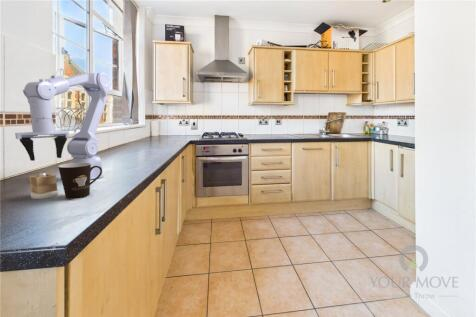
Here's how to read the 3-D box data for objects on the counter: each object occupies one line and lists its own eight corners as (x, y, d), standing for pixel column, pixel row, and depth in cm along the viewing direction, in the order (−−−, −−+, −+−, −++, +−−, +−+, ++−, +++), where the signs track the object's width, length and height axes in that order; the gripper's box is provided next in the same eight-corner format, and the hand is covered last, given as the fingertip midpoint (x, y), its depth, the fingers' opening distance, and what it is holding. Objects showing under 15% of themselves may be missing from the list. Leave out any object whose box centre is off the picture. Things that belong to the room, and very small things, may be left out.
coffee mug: (59, 201, 76) (56, 168, 75) (63, 194, 84) (60, 163, 82) (104, 196, 82) (101, 165, 80) (103, 189, 89) (101, 161, 88)
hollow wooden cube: (49, 188, 86) (47, 173, 85) (57, 190, 83) (55, 175, 82) (31, 191, 81) (29, 176, 80) (39, 194, 79) (37, 178, 78)
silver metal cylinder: (46, 190, 83) (44, 171, 82) (48, 191, 82) (46, 172, 81) (40, 191, 82) (37, 172, 81) (42, 192, 81) (39, 173, 80)
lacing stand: (54, 191, 87) (53, 187, 87) (61, 195, 83) (61, 190, 83) (28, 196, 82) (27, 191, 82) (35, 200, 77) (34, 195, 77)
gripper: (62, 118, 95) (65, 155, 97) (10, 118, 84) (16, 160, 86) (69, 118, 91) (73, 157, 93) (16, 118, 80) (22, 162, 82)
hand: (46, 159), depth 89 cm, fingers open, 7 cm apart
